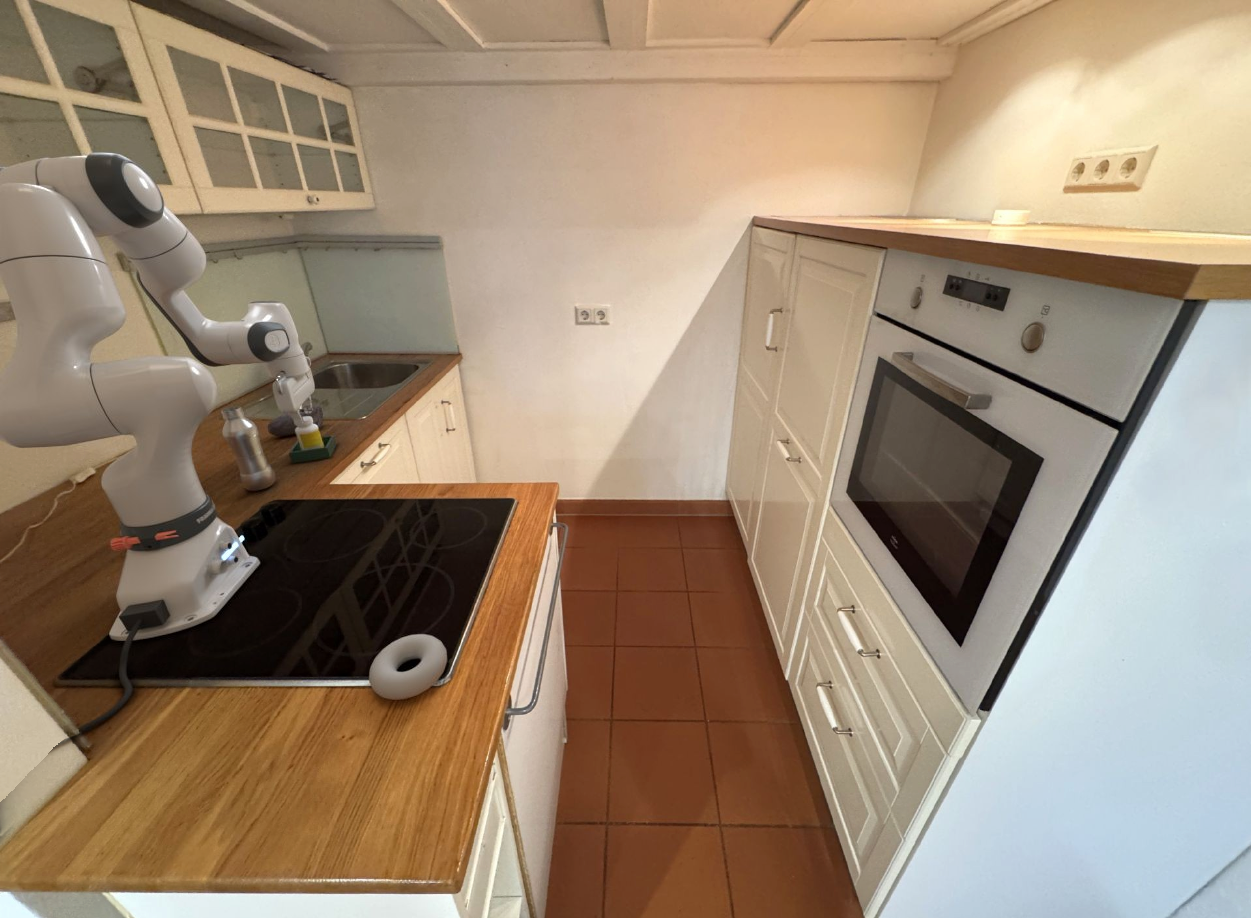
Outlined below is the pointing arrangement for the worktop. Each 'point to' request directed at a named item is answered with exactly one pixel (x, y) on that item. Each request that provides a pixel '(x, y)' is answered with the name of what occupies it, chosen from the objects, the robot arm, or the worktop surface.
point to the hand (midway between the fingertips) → (304, 418)
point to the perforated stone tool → (286, 424)
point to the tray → (313, 451)
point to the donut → (414, 680)
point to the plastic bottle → (247, 449)
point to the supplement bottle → (309, 435)
